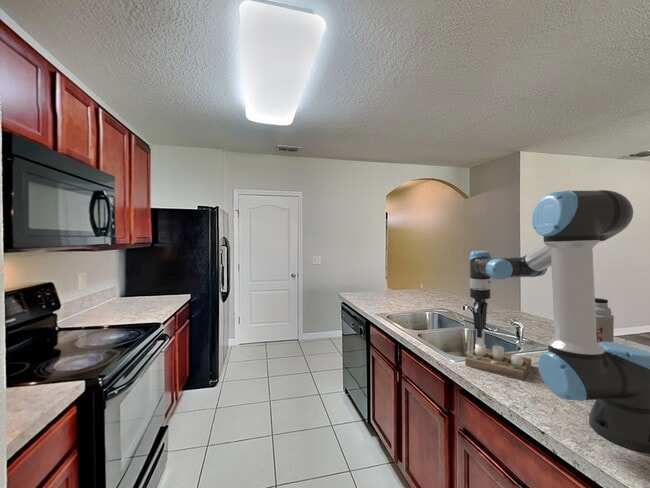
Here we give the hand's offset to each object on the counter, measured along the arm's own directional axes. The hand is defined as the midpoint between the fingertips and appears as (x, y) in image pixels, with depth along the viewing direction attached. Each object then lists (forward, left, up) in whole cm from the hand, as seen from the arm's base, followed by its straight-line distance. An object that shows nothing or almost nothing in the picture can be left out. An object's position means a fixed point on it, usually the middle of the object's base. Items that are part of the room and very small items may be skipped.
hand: (480, 344), depth 128 cm
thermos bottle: (+16, -37, -7) cm, 41 cm away
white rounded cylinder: (0, 0, -5) cm, 5 cm away
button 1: (0, -13, -7) cm, 15 cm away
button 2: (0, -7, -5) cm, 8 cm away
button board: (0, -7, -7) cm, 10 cm away
